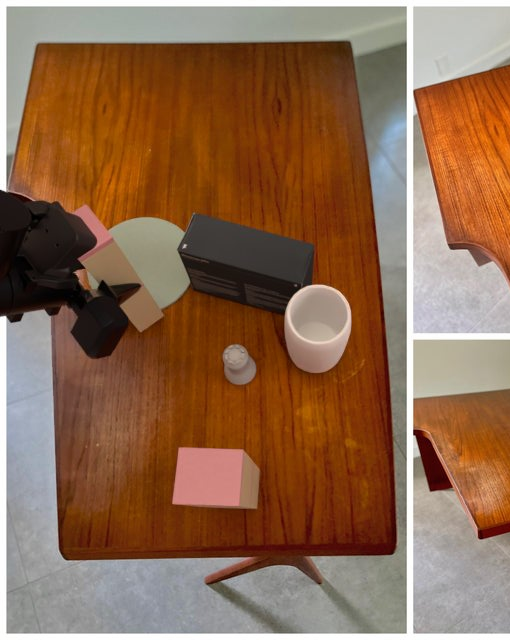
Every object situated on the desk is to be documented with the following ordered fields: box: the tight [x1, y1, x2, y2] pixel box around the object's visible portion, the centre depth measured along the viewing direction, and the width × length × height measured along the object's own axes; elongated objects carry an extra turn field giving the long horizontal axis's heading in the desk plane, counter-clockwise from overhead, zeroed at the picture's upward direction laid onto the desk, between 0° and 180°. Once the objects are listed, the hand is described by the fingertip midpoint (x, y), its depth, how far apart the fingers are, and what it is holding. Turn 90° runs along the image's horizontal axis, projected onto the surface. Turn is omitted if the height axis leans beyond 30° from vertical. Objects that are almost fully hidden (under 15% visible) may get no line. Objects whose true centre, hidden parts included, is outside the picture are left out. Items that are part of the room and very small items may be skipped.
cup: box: [283, 284, 352, 374], centre depth 70 cm, size 8×8×14 cm
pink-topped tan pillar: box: [71, 203, 165, 333], centre depth 64 cm, size 4×5×22 cm
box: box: [177, 212, 316, 316], centre depth 74 cm, size 17×7×12 cm, turn 74°
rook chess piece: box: [222, 343, 257, 386], centre depth 71 cm, size 4×4×8 cm
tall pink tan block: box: [171, 446, 261, 510], centre depth 59 cm, size 6×5×22 cm
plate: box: [86, 216, 192, 311], centre depth 80 cm, size 16×16×1 cm
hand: (127, 271), depth 65 cm, fingers closed on pink-topped tan pillar, 5 cm apart
